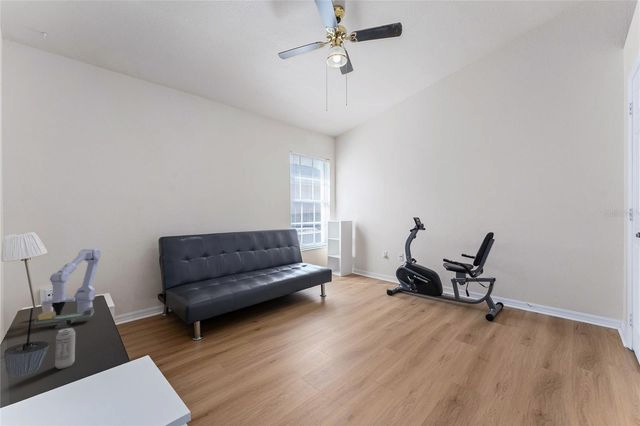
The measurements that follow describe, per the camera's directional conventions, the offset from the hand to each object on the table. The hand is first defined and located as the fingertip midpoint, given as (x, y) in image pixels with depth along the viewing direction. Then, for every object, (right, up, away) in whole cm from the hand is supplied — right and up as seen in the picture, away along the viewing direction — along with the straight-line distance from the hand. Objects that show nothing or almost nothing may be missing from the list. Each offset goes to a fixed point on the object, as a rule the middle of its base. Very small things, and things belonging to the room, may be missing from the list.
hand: (58, 315), depth 161 cm
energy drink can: (+49, -4, -47) cm, 67 cm away
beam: (+3, -2, +1) cm, 4 cm away
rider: (-5, -2, -3) cm, 5 cm away
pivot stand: (+3, -6, +1) cm, 7 cm away
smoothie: (-21, -7, +14) cm, 27 cm away
